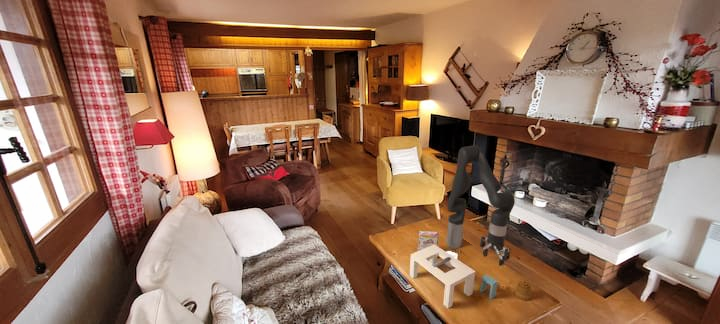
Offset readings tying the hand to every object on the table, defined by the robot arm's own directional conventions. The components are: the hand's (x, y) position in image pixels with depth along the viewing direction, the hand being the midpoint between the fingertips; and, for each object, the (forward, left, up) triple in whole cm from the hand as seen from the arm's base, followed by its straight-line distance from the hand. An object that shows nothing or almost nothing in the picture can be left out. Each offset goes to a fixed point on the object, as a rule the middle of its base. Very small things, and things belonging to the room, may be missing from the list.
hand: (492, 260), depth 142 cm
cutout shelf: (+16, -18, -20) cm, 31 cm away
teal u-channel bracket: (0, 0, -20) cm, 20 cm away
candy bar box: (+4, -40, -21) cm, 45 cm away
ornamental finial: (-14, +10, -21) cm, 27 cm away
